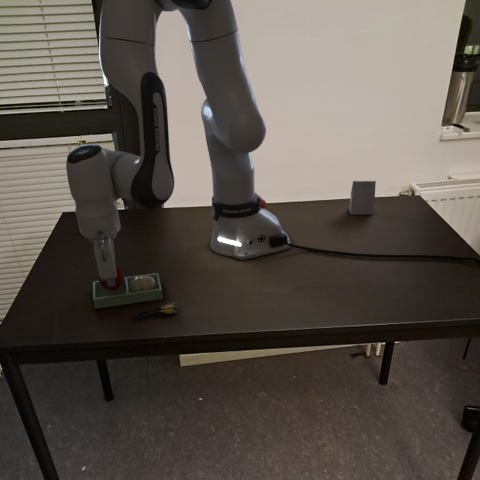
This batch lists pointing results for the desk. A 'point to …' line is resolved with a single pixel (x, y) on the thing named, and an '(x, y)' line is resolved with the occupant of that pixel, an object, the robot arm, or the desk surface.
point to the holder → (125, 293)
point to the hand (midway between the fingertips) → (111, 277)
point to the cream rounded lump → (143, 284)
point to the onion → (118, 280)
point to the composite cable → (158, 311)
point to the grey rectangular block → (362, 198)
